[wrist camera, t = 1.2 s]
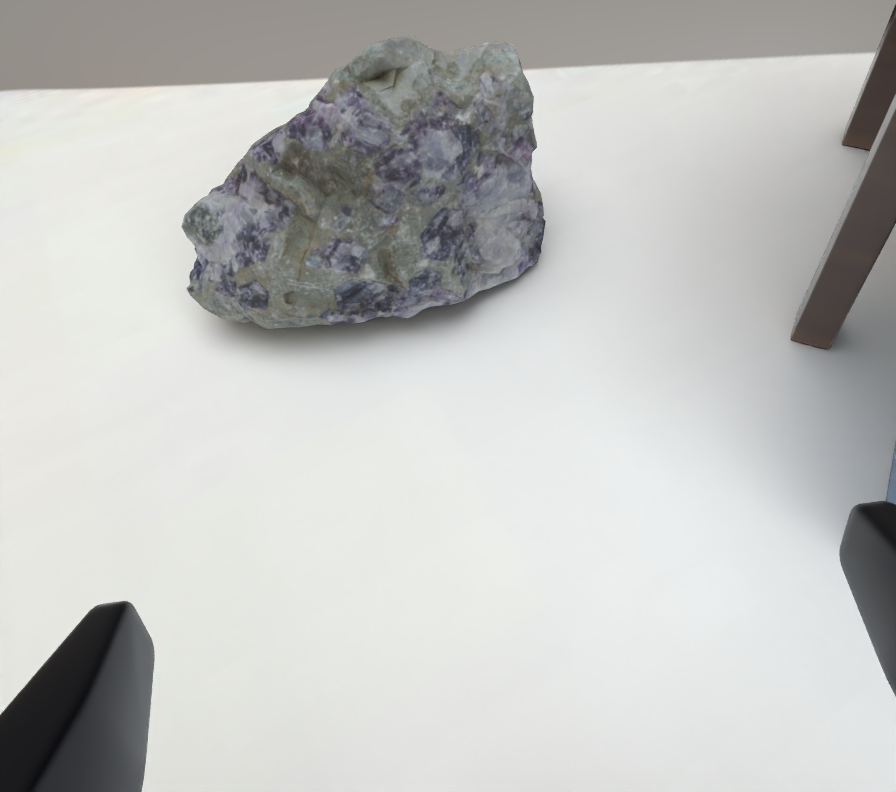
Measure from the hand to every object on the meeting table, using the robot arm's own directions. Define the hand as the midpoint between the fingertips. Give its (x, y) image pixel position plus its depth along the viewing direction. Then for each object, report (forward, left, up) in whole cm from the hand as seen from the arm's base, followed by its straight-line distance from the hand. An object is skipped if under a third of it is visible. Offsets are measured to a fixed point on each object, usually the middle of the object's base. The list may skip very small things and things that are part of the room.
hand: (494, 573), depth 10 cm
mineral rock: (+20, -5, -15) cm, 25 cm away
